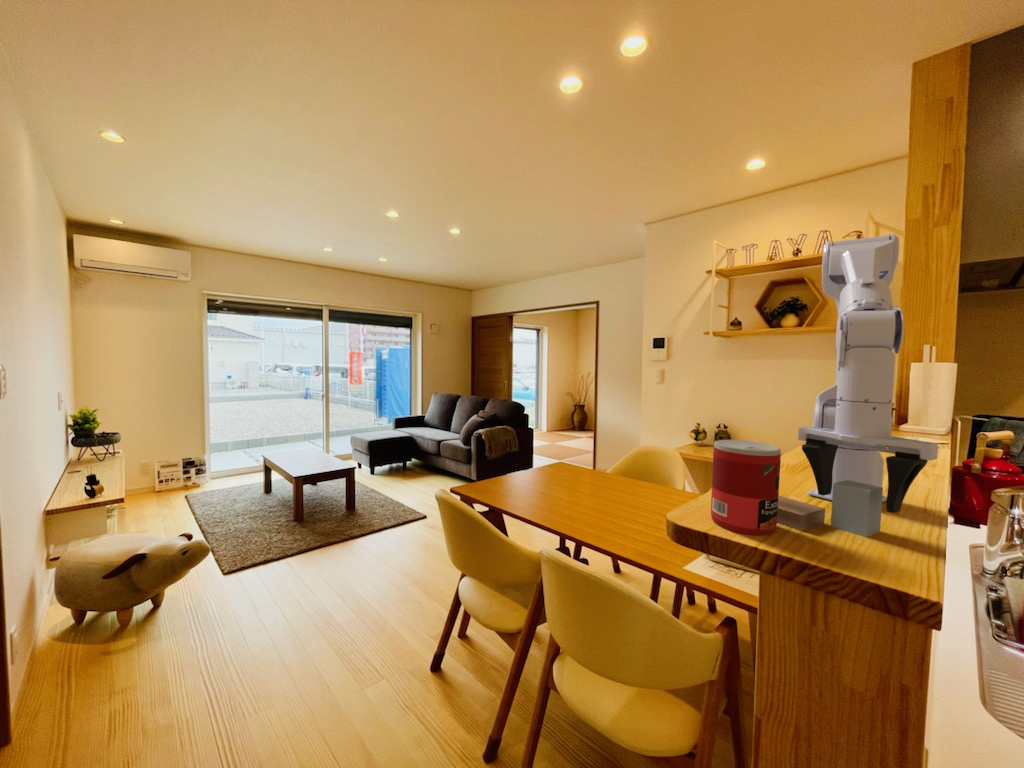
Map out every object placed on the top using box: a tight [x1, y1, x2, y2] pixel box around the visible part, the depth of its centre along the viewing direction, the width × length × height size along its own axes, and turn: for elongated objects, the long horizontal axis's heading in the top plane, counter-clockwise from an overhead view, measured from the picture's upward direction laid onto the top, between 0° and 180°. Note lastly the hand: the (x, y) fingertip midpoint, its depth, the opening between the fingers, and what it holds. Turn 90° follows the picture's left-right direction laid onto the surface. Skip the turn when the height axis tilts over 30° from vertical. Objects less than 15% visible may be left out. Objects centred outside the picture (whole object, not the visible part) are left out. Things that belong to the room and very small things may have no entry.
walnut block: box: [777, 495, 826, 532], centre depth 60 cm, size 6×6×2 cm
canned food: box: [710, 439, 782, 536], centre depth 58 cm, size 8×8×11 cm
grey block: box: [830, 480, 884, 538], centre depth 57 cm, size 4×4×6 cm
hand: (856, 502), depth 57 cm, fingers open, 7 cm apart
